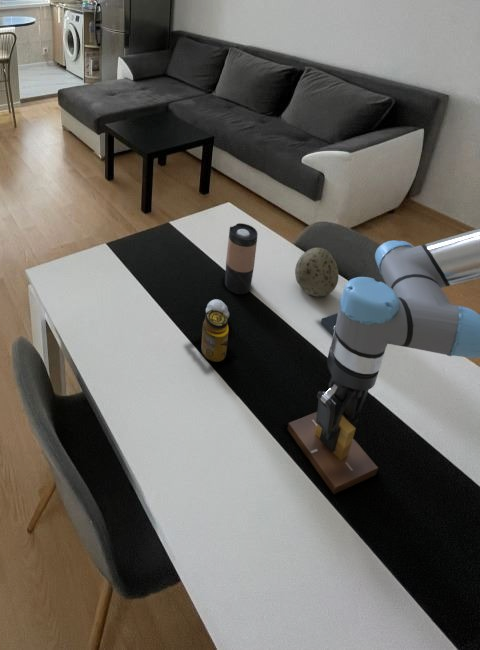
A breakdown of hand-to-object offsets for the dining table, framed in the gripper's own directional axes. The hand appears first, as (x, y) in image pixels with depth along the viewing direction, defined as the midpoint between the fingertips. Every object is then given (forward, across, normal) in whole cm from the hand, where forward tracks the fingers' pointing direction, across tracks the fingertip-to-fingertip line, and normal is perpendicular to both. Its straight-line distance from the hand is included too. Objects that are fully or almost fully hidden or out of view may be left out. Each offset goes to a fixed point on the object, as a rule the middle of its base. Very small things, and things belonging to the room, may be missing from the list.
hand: (332, 441), depth 84 cm
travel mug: (+4, -17, -42) cm, 45 cm away
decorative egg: (+4, -34, -30) cm, 46 cm away
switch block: (+3, -29, -16) cm, 33 cm away
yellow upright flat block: (+1, 0, 0) cm, 1 cm away
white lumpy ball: (+4, -2, -35) cm, 35 cm away
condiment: (+4, +6, -28) cm, 29 cm away
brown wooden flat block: (+3, 0, 0) cm, 3 cm away
